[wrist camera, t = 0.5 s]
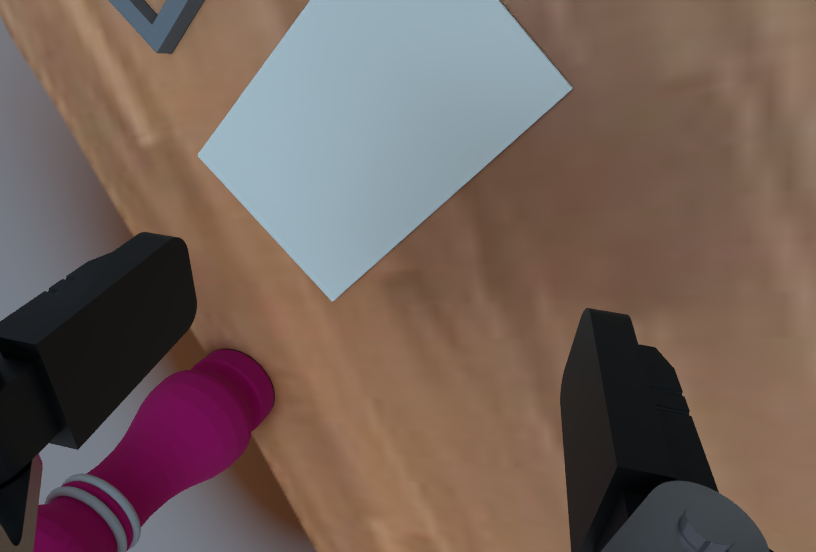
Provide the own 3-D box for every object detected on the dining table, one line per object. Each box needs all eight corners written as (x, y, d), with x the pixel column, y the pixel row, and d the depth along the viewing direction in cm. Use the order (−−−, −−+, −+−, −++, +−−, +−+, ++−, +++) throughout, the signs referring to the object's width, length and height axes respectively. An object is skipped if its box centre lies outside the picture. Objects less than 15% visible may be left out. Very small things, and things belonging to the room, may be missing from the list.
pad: (403, -115, 24) (397, -120, 23) (572, 88, 24) (572, 88, 24) (205, 153, 32) (197, 155, 31) (337, 296, 33) (332, 301, 32)
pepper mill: (267, 342, 36) (-39, 609, 18) (291, 428, 38) (41, 740, 21) (184, 342, 38) (-156, 578, 21) (212, 423, 41) (-72, 697, 23)
